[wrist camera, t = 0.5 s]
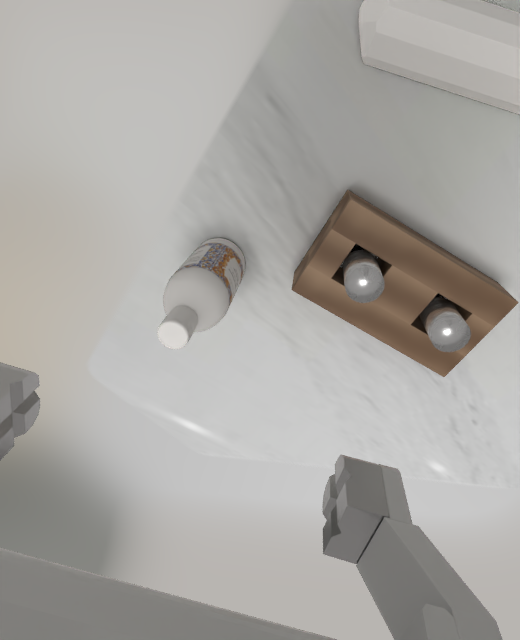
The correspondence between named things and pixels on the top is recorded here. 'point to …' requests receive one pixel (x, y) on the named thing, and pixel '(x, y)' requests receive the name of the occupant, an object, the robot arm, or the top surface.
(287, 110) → the top surface
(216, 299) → the bath foam
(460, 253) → the top surface
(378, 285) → the peg
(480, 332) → the brown wooden block
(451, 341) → the peg
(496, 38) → the crystal
